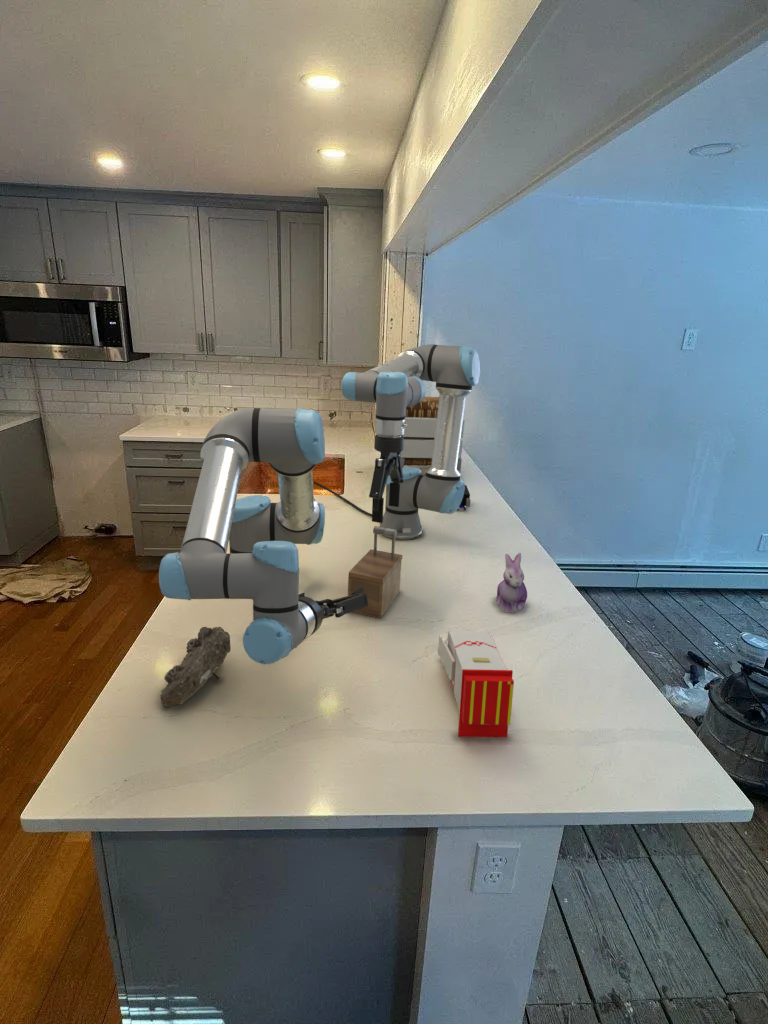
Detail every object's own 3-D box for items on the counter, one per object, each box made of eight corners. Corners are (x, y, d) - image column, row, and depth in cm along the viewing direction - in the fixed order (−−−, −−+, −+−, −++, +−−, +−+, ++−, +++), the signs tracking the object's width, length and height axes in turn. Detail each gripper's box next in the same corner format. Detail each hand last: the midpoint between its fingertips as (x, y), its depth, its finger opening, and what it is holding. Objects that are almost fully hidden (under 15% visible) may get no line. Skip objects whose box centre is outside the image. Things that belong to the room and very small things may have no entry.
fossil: (184, 629, 128) (231, 598, 123) (214, 657, 131) (261, 628, 126) (138, 700, 109) (191, 667, 104) (173, 731, 112) (227, 701, 107)
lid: (370, 553, 159) (371, 522, 156) (402, 558, 156) (403, 528, 153) (348, 576, 144) (349, 543, 141) (382, 583, 142) (384, 549, 139)
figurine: (509, 617, 148) (516, 565, 143) (485, 599, 156) (491, 550, 151) (537, 610, 152) (544, 559, 147) (512, 593, 161) (519, 544, 156)
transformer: (382, 463, 289) (386, 382, 275) (445, 464, 293) (451, 384, 279) (390, 482, 257) (394, 392, 243) (460, 483, 261) (468, 394, 247)
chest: (368, 586, 162) (369, 553, 158) (399, 592, 159) (401, 559, 155) (347, 611, 148) (348, 576, 144) (381, 618, 145) (382, 583, 142)
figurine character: (470, 515, 225) (465, 499, 238) (472, 498, 221) (467, 483, 235) (453, 515, 224) (449, 499, 238) (455, 497, 221) (451, 482, 234)
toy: (488, 613, 130) (523, 677, 101) (484, 667, 133) (517, 744, 104) (435, 612, 130) (455, 676, 101) (432, 666, 133) (451, 743, 103)
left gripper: (238, 645, 108) (282, 617, 128) (364, 635, 102) (389, 607, 123) (233, 606, 107) (278, 584, 128) (358, 594, 102) (384, 573, 123)
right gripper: (387, 446, 131) (383, 531, 139) (417, 427, 154) (412, 501, 161) (357, 443, 134) (355, 526, 141) (391, 425, 156) (387, 498, 163)
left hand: (332, 596), depth 126 cm, fingers open, 13 cm apart
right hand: (385, 513), depth 151 cm, fingers open, 13 cm apart
